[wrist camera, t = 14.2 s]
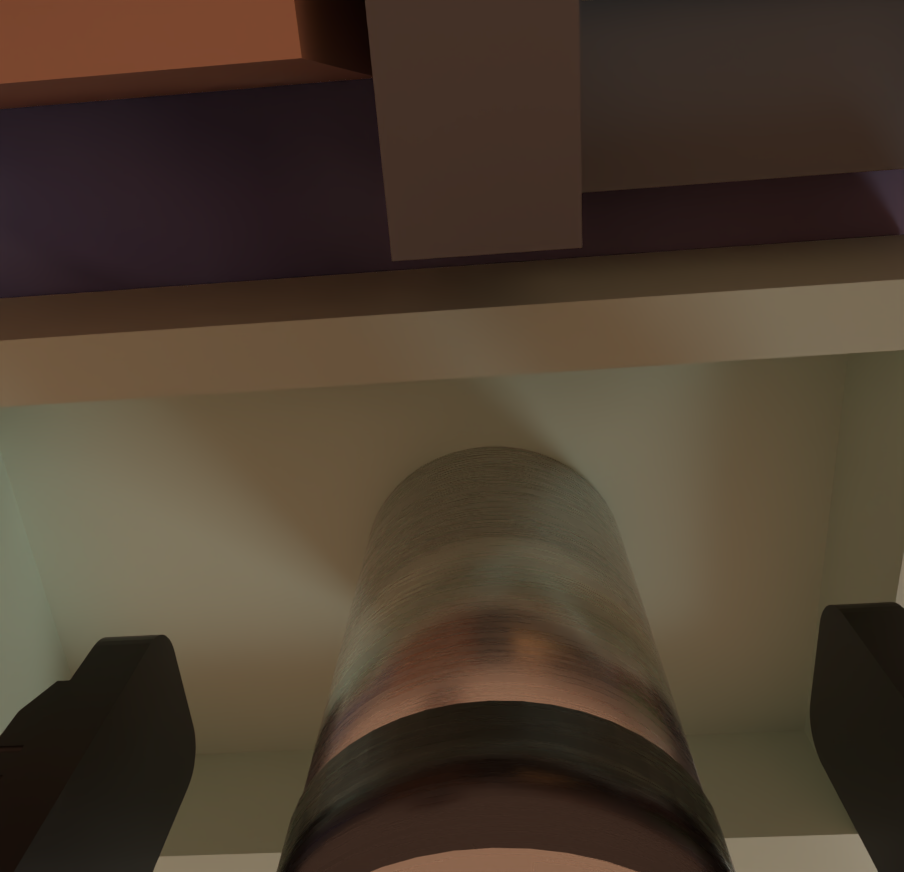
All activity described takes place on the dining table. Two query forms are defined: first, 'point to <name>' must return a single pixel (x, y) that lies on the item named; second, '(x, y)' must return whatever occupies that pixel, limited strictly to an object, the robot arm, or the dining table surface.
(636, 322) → the trough
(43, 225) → the dining table surface
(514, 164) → the cradle
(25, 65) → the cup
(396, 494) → the cell
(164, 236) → the dining table surface
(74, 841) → the robot arm
